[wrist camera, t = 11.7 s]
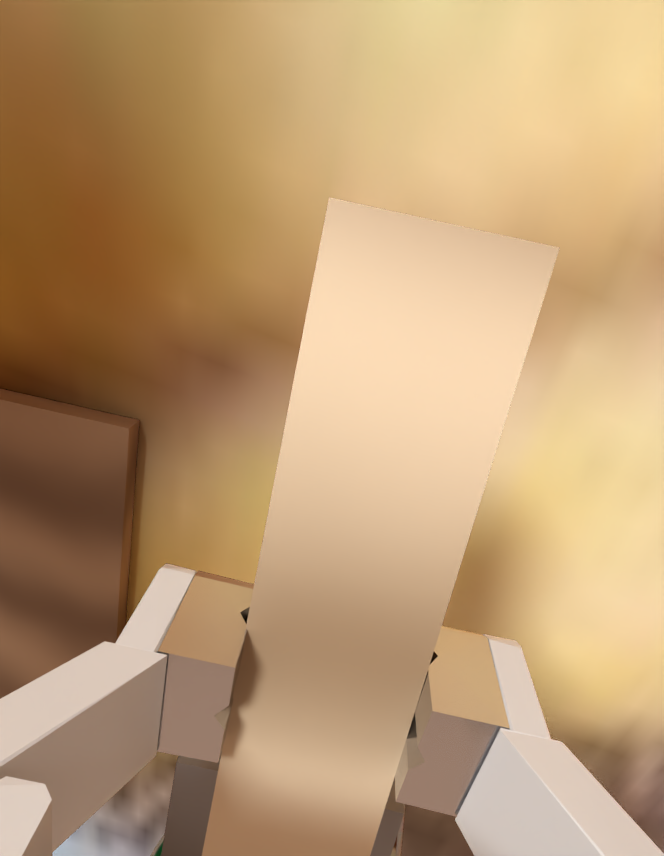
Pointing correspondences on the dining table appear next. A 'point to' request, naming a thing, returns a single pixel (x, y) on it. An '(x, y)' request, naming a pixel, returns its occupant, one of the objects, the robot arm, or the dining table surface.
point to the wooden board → (61, 532)
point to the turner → (363, 531)
